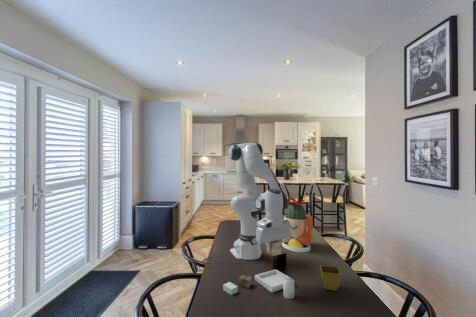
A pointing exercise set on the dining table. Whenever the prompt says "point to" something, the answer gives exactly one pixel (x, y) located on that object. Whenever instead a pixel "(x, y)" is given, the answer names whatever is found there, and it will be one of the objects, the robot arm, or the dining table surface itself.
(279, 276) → the tray
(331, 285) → the flower pot
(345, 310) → the dining table surface
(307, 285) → the dining table surface
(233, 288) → the green box
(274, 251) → the oak block
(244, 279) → the walnut block
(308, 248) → the potted cactus
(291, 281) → the white capsule shape
